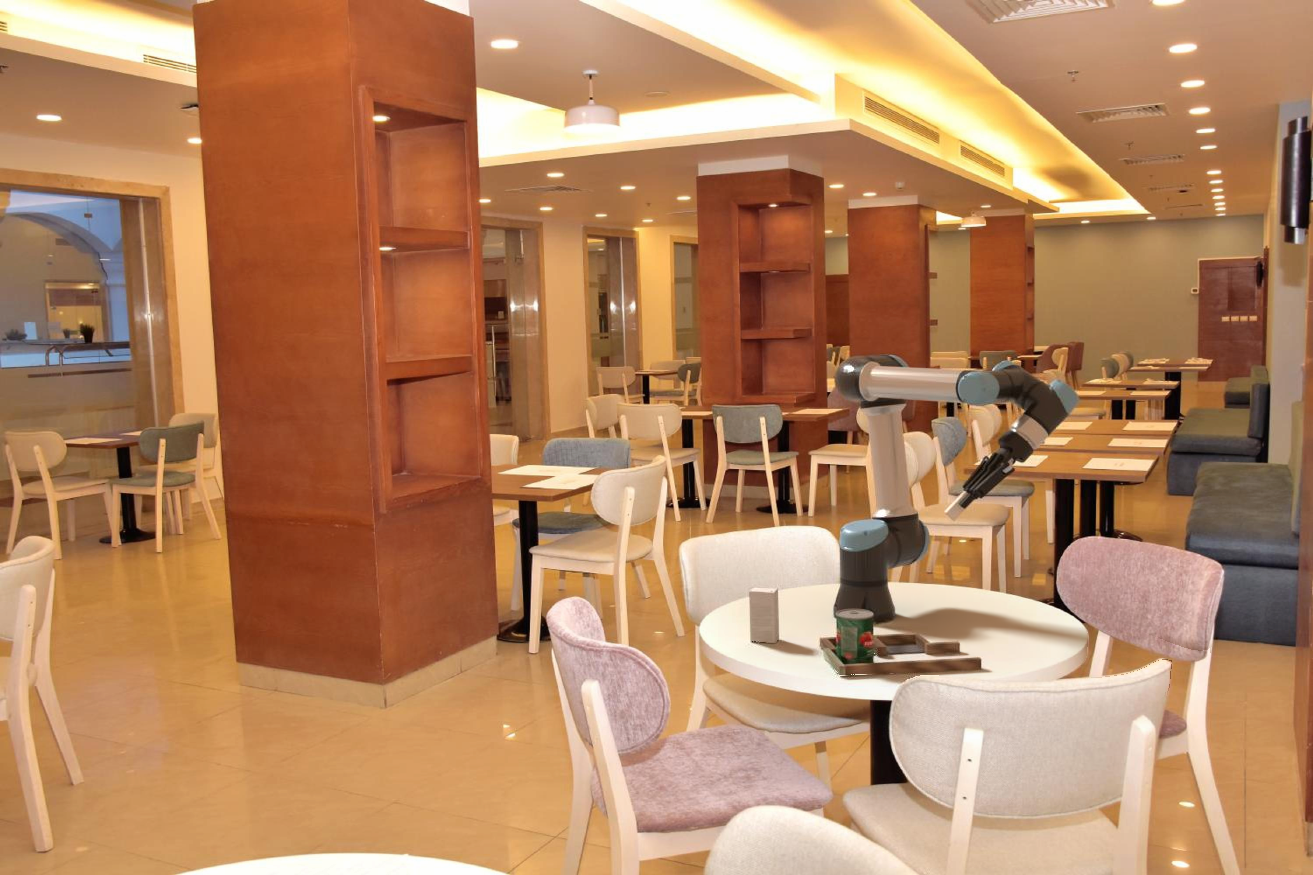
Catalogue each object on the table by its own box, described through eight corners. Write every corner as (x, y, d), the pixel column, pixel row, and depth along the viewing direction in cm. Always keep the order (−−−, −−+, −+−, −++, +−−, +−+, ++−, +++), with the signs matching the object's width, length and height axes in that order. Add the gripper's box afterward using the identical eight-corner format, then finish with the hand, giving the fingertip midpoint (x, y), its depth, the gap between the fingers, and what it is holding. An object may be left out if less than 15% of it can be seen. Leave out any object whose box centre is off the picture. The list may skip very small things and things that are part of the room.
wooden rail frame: (944, 640, 254) (944, 631, 254) (981, 669, 233) (981, 658, 233) (814, 647, 251) (814, 637, 251) (839, 676, 230) (839, 666, 230)
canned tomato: (876, 669, 235) (876, 617, 234) (838, 669, 235) (838, 618, 234) (870, 657, 242) (870, 608, 241) (834, 658, 243) (834, 608, 242)
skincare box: (779, 638, 259) (778, 588, 258) (775, 643, 255) (774, 592, 254) (754, 637, 261) (753, 586, 260) (749, 642, 257) (748, 591, 256)
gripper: (1046, 454, 243) (971, 532, 243) (1020, 448, 256) (950, 522, 256) (1022, 430, 242) (948, 509, 242) (998, 425, 255) (927, 500, 255)
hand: (949, 516), depth 249 cm, fingers closed
